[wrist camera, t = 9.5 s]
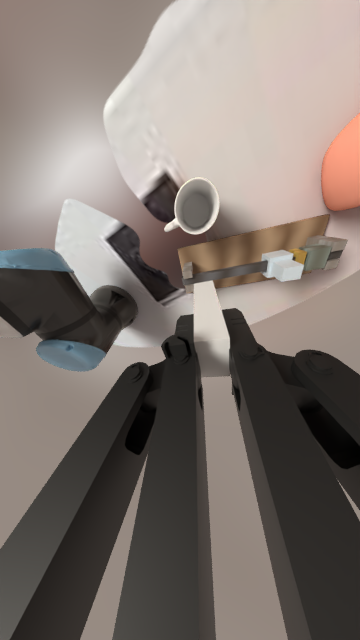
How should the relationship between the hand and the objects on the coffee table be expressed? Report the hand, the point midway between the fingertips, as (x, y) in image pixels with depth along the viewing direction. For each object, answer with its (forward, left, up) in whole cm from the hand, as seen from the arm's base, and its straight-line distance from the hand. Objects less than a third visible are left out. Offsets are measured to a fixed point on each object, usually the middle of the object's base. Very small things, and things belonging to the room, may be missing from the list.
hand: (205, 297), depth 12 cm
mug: (-1, +6, -29) cm, 29 cm away
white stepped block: (+15, -6, -23) cm, 29 cm away
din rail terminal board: (+11, -6, -28) cm, 31 cm away
